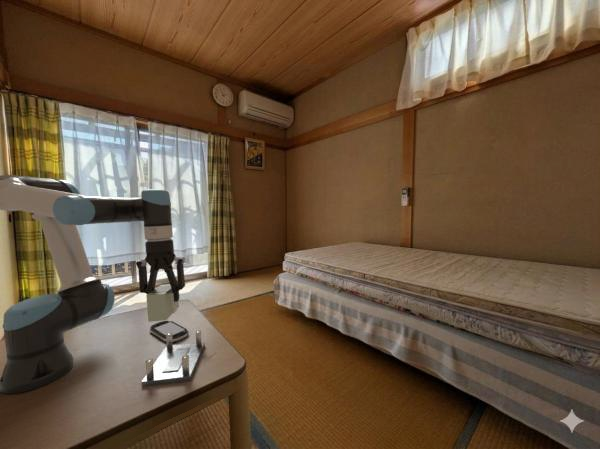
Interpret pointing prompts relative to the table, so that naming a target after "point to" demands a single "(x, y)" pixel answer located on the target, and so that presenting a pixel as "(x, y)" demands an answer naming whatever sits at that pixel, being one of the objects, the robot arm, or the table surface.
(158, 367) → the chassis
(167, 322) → the gaming console
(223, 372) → the table surface
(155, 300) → the pale green block
